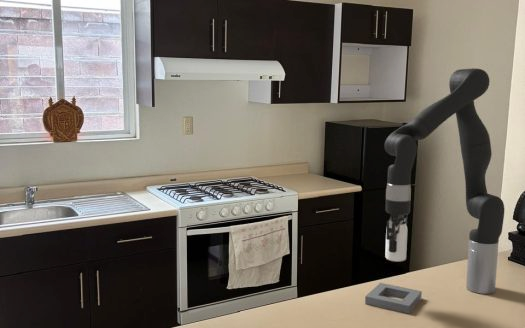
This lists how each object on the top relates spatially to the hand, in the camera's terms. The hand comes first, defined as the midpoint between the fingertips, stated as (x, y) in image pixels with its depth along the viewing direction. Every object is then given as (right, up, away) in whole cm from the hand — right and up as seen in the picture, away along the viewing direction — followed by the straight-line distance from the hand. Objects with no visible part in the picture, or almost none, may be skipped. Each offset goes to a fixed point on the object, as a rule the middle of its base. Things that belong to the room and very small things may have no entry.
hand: (396, 249), depth 169 cm
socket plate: (0, -17, +2) cm, 17 cm away
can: (0, -3, 0) cm, 3 cm away
